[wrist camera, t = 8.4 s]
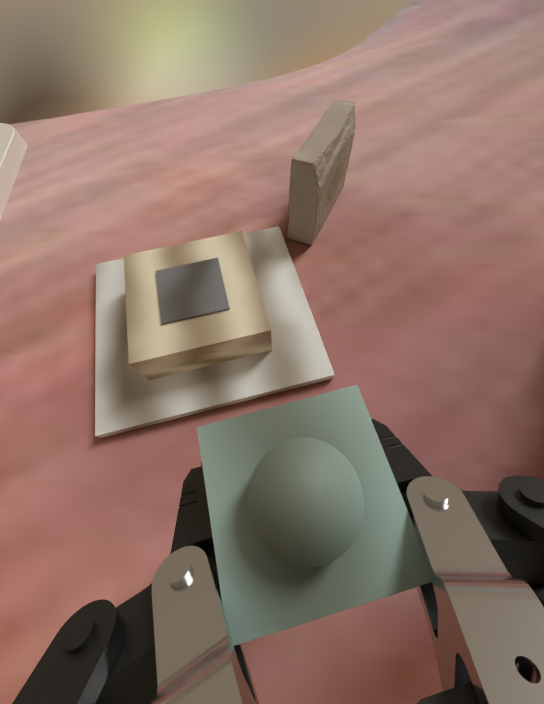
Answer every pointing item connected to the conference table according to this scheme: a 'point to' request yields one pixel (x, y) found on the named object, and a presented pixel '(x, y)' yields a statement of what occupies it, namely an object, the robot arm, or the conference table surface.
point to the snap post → (304, 514)
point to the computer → (9, 161)
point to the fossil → (320, 171)
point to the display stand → (200, 330)
